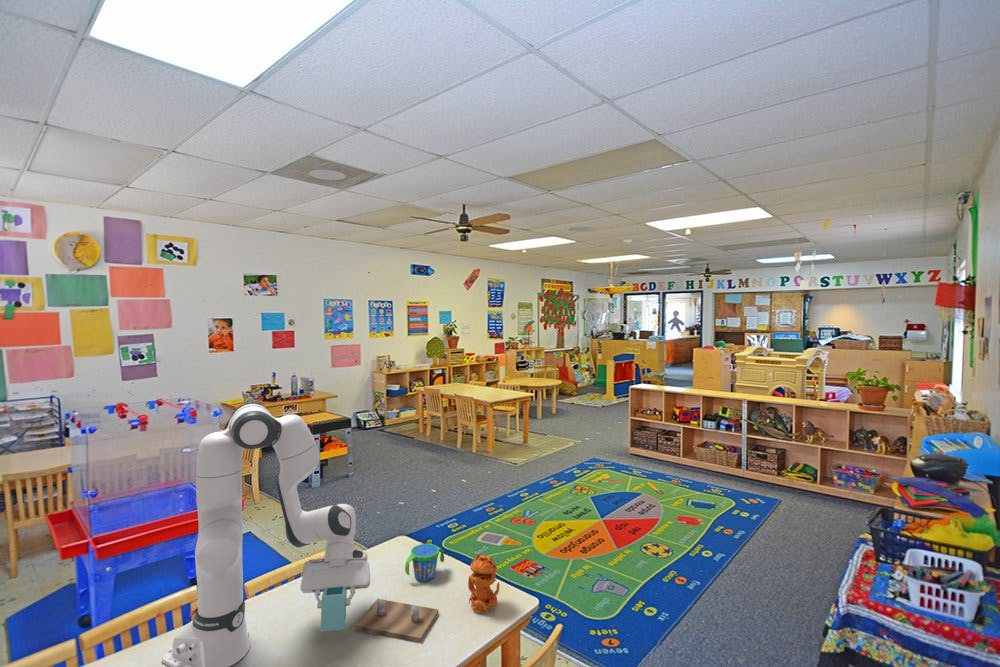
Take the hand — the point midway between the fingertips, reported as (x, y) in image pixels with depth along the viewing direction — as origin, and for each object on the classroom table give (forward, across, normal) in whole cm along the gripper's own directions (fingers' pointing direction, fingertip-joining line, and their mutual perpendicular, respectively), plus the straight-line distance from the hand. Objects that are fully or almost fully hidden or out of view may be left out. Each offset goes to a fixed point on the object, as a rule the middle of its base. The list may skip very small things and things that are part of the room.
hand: (333, 606), depth 137 cm
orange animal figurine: (+2, +47, +11) cm, 48 cm away
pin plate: (+3, +19, +11) cm, 22 cm away
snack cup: (-14, +29, +28) cm, 42 cm away
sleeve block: (+3, 0, +4) cm, 5 cm away
